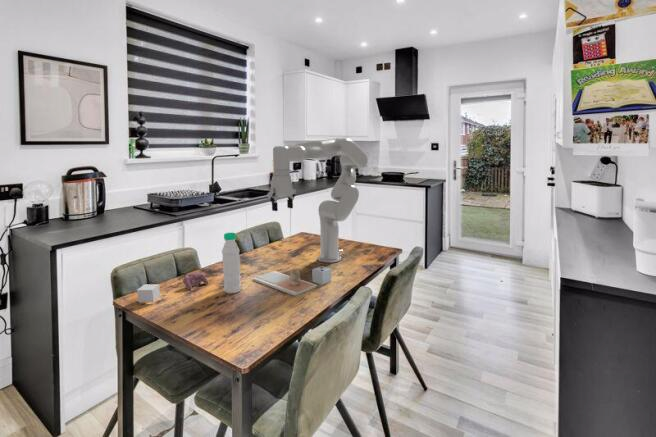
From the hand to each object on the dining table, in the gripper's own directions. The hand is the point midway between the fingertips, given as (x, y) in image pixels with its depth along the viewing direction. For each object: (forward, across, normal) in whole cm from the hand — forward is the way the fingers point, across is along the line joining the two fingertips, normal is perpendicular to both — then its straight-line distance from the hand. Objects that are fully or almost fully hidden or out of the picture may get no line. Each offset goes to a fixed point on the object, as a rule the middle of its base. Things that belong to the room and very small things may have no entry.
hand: (282, 209), depth 184 cm
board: (+30, +12, +13) cm, 35 cm away
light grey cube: (+31, +60, -13) cm, 69 cm away
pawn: (+29, +12, +20) cm, 37 cm away
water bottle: (+31, +32, +3) cm, 44 cm away
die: (+30, -1, +24) cm, 39 cm away
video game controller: (+31, +39, -14) cm, 52 cm away
